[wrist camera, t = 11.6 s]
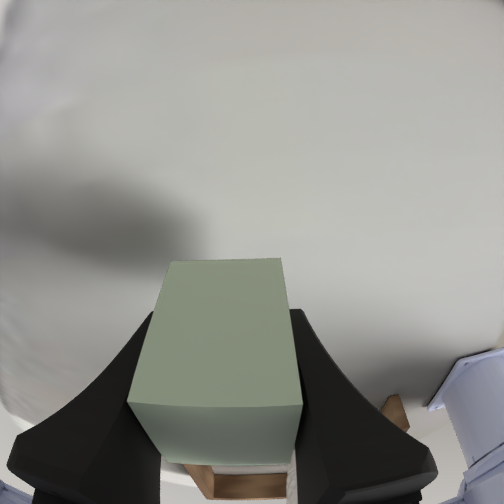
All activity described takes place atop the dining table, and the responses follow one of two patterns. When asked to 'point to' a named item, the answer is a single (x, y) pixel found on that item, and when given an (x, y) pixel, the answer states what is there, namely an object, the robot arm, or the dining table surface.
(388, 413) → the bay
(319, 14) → the dining table surface
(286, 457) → the block
